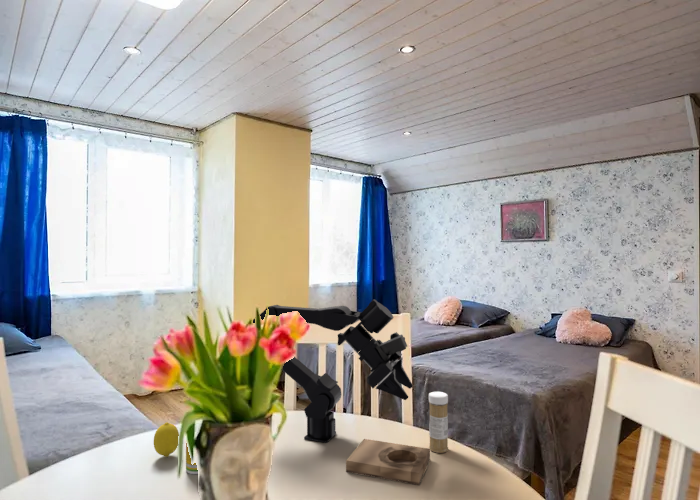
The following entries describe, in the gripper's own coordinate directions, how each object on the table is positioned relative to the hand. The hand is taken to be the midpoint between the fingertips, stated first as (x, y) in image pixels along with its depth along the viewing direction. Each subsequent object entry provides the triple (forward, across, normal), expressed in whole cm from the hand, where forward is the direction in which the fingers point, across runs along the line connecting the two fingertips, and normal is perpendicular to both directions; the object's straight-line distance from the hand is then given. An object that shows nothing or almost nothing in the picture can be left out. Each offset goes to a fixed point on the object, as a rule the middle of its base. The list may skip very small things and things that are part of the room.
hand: (409, 392), depth 107 cm
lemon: (-29, -20, +48) cm, 59 cm away
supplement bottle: (-22, -23, +40) cm, 51 cm away
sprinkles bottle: (+14, 0, +4) cm, 15 cm away
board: (+7, -11, +12) cm, 17 cm away
